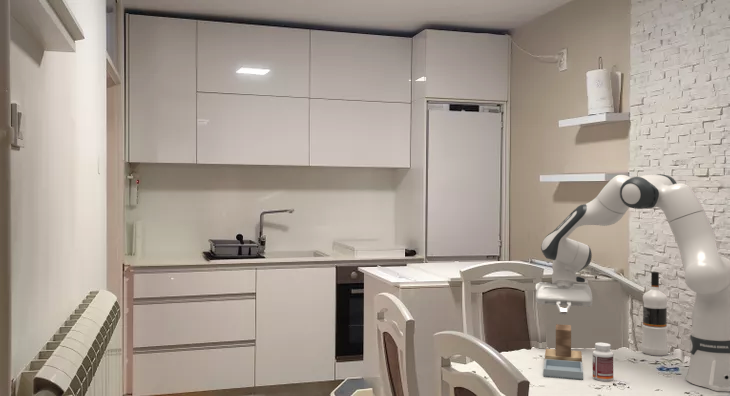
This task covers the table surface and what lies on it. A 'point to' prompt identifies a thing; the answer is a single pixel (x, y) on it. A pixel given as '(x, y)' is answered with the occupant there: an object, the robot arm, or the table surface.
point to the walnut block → (563, 340)
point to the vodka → (654, 320)
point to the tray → (563, 369)
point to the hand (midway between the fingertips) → (563, 313)
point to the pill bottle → (602, 362)
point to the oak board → (574, 357)
